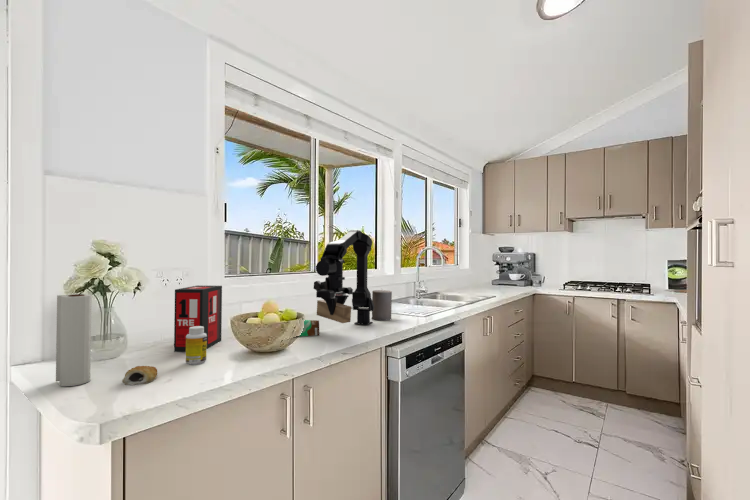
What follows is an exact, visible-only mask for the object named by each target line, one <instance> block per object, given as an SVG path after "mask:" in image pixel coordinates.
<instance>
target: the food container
mask: <svg viewBox="0 0 750 500" xmlns="http://www.w3.org/2000/svg"><path fill="white" fill-rule="evenodd" d="M304 320H305V321H304V328H303V331H302V333H301V335H300V336H299V337H313V336H315V337H316V336H320V320H314V319H304Z"/></svg>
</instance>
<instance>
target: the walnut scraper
mask: <svg viewBox="0 0 750 500" xmlns="http://www.w3.org/2000/svg"><path fill="white" fill-rule="evenodd" d="M316 302H317V303H316V316H319V317H321V318H322V317H323V318H325V319H328V320H331V321H334V322H336V323H337V322H338V323H341V324H347V323H350V322H351V321H352V320H351V317H352V306H351V305H346V304H344V305H343V304H340V303H336V307H335V310H334V314H333V315H330V312H329V309H328V306H327V303H326V301H325V300H324V299H319V300H316Z"/></svg>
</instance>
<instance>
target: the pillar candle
mask: <svg viewBox="0 0 750 500" xmlns="http://www.w3.org/2000/svg"><path fill="white" fill-rule="evenodd" d="M371 293H372V294H371V299H372V301H373V303H374V311H371V319H372V320H374V321H390V319H391V320H392V296H393V291H391V290H384V289H376V290H372V292H371Z"/></svg>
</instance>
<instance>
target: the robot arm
mask: <svg viewBox="0 0 750 500" xmlns="http://www.w3.org/2000/svg"><path fill="white" fill-rule="evenodd" d="M372 245H373V239H372V238H371V236H369V235H368V234H366V233H364V232H362V230H359V229H351V230H348V232H347V233H345V234H344V235H343V236H342V237H341V238H339V239H337V240H336V241H335V240H334V241H330V242H328V243H327V244H326V246H325V249H323V250H324V251H323V252H322V256H321V257H320V260H319V261H318V262H317V263H316V266H315V272H316V273H317V274H318V275H319V276H321V277H323V276H324V277H325V280H324V281H320V280H316V281H313V289H314V290H315V291H316V294H315V296H316V298H317V299H319V298H321V300H325V301H326V303H327V306H328V309H329V312H330V315H333V314H334V310H335V307H336V303H340V304H343V305H345V303H346V302H347V299H348V298H349V296H350V295H352V298H351V305H352V310H353V311H356V313H357V316H356V321H355V322H353V323H354V324H355V325H363V326H367V325H370V324H373V321H370V320H371V318H370V317H371V315H370V314H371V312H372V311H374V303H373V301H372V294H371V293H372V292H370V290H369V288H368V256H369V254H370V253H371V251H372ZM351 246H352V248H353V249H352V250H353V251H354V254H355V256H356V288H355V290H354V289H353V288H352V286H343V281H345V280H346V277H345V276H344V275H343V271H344V264H345V259H343V258H344V257H345V256H346V254H347V252H348V250H347V249H349V247H351Z"/></svg>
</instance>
